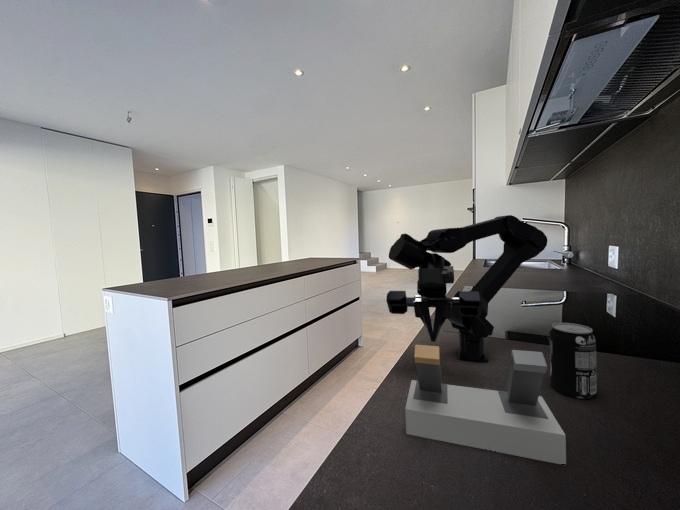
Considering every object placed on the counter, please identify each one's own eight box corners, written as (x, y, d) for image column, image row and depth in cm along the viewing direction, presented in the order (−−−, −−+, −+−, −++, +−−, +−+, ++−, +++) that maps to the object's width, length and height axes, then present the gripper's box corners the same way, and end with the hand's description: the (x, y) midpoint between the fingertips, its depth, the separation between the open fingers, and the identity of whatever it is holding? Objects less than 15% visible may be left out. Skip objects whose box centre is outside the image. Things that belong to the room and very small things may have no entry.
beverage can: (551, 378, 55) (549, 320, 55) (595, 387, 51) (594, 325, 51) (549, 392, 50) (548, 329, 50) (598, 404, 46) (597, 335, 46)
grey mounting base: (412, 401, 50) (411, 379, 50) (542, 421, 43) (541, 396, 43) (406, 434, 42) (405, 408, 42) (566, 465, 35) (565, 434, 34)
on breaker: (506, 390, 43) (511, 349, 38) (532, 393, 41) (542, 352, 36) (509, 404, 41) (515, 363, 36) (536, 407, 40) (547, 366, 35)
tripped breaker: (420, 379, 47) (415, 344, 42) (441, 382, 46) (439, 346, 41) (419, 391, 46) (414, 356, 40) (441, 394, 44) (439, 359, 39)
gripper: (385, 254, 60) (378, 318, 50) (479, 251, 54) (492, 322, 44) (392, 284, 68) (387, 344, 58) (475, 284, 61) (485, 351, 52)
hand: (433, 340), depth 52 cm, fingers closed
